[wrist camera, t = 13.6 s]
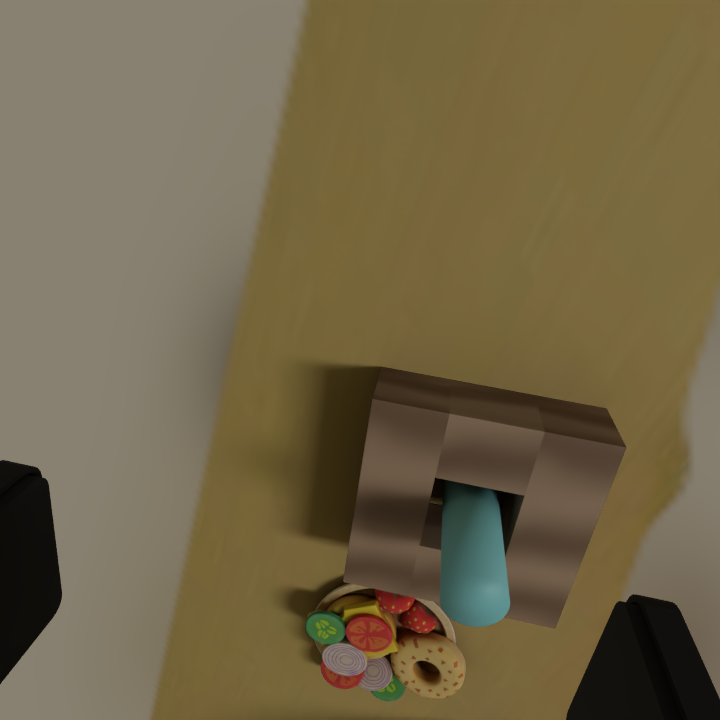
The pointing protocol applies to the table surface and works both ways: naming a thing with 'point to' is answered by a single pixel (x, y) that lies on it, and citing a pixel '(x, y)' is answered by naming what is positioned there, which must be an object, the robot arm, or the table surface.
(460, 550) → the peg
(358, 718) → the table surface
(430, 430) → the socket block
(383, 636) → the toy food set
